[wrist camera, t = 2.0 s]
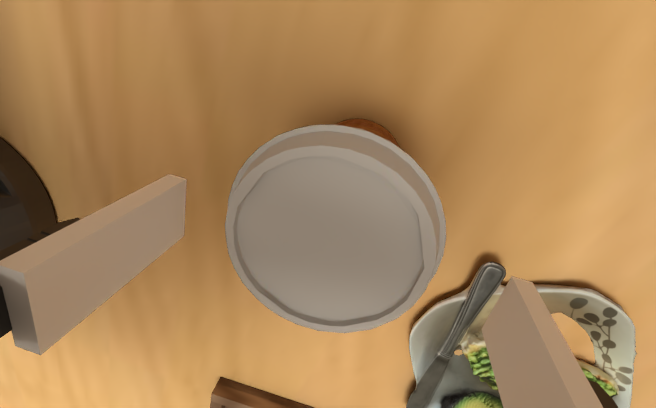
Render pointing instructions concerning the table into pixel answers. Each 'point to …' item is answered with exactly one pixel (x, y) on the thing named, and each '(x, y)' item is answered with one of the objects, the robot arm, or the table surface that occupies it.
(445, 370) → the salad plate
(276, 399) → the walnut tray
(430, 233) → the disposable coffee cup
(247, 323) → the table surface
